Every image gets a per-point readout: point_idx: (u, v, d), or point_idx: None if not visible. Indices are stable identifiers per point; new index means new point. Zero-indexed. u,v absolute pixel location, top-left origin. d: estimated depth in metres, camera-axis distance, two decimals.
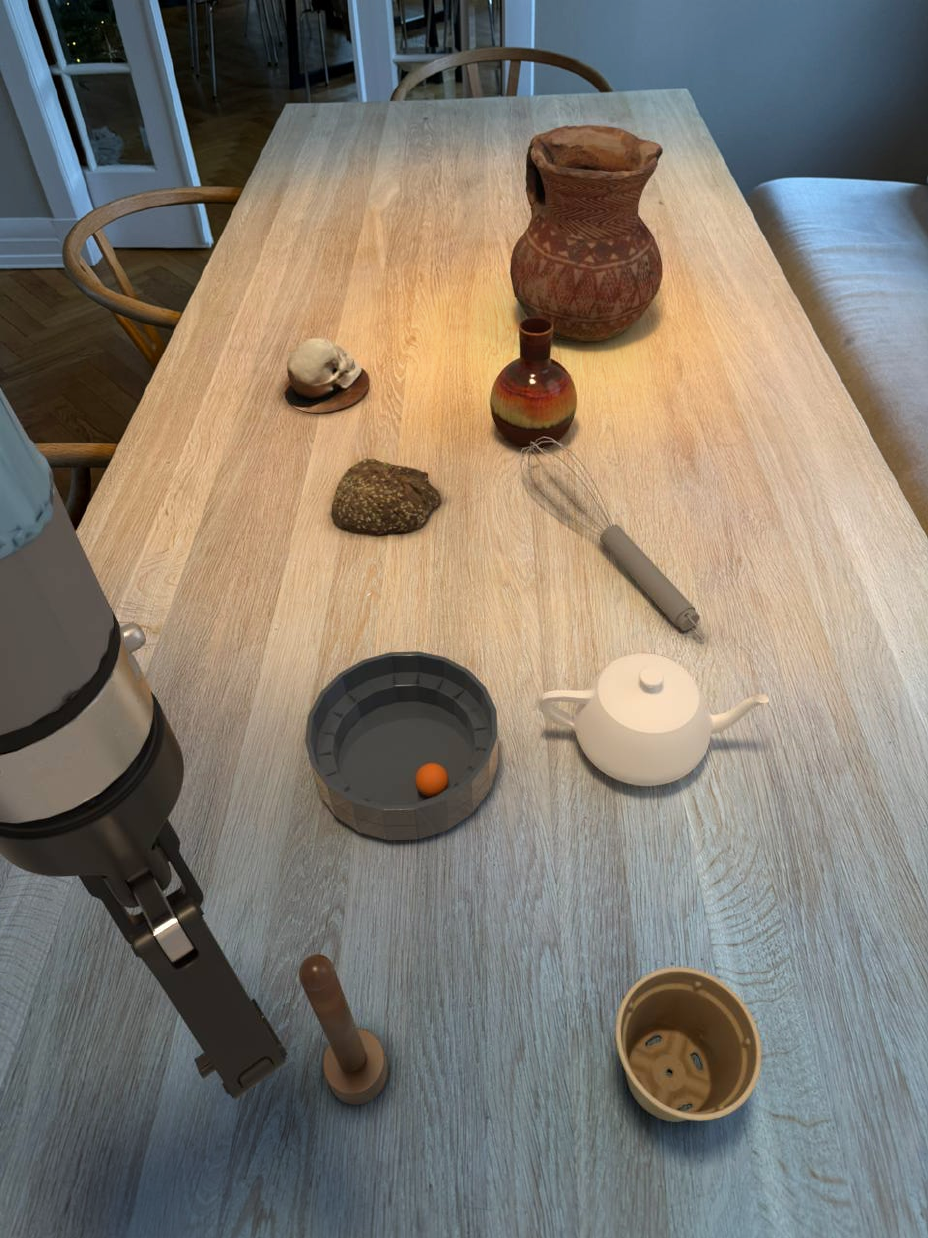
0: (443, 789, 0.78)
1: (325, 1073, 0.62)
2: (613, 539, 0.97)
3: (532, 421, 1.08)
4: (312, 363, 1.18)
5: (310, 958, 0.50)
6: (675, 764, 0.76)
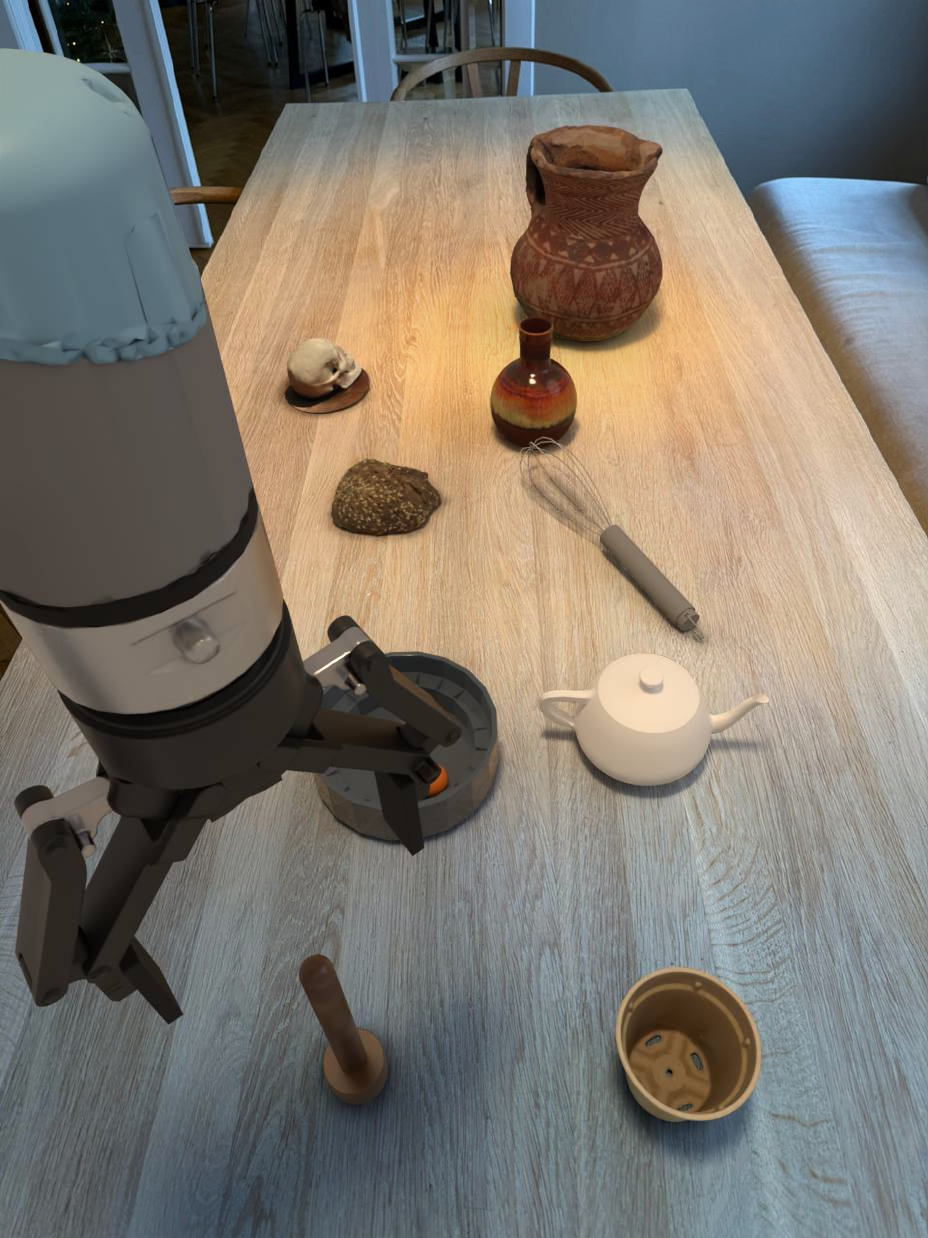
0: (443, 789, 0.78)
1: (325, 1073, 0.62)
2: (613, 539, 0.97)
3: (532, 420, 1.08)
4: (312, 363, 1.18)
5: (310, 958, 0.50)
6: (675, 764, 0.76)
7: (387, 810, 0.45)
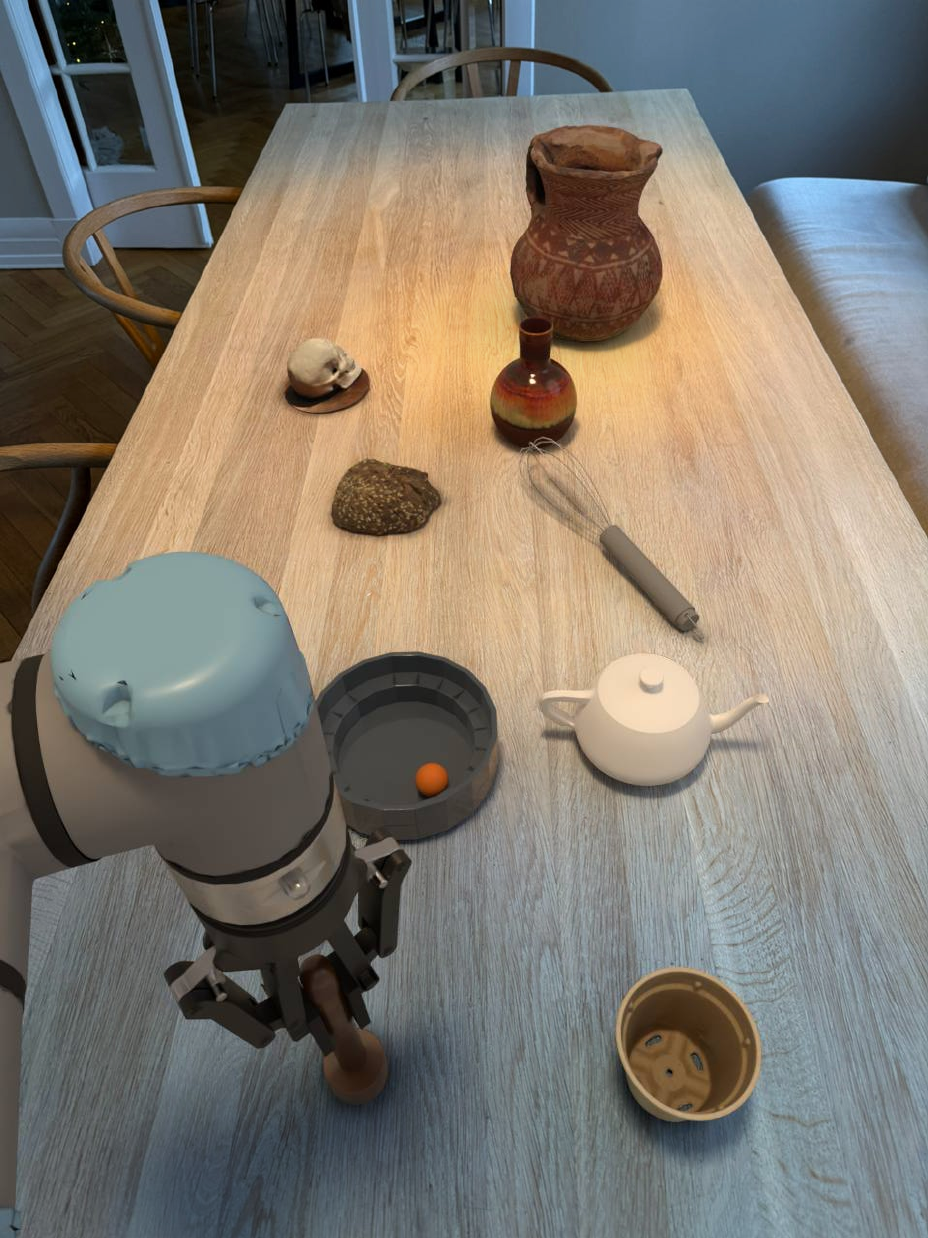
0: (443, 789, 0.78)
1: (325, 1073, 0.62)
2: (612, 539, 0.97)
3: (532, 420, 1.08)
4: (312, 363, 1.18)
5: (310, 958, 0.50)
6: (675, 765, 0.76)
7: None
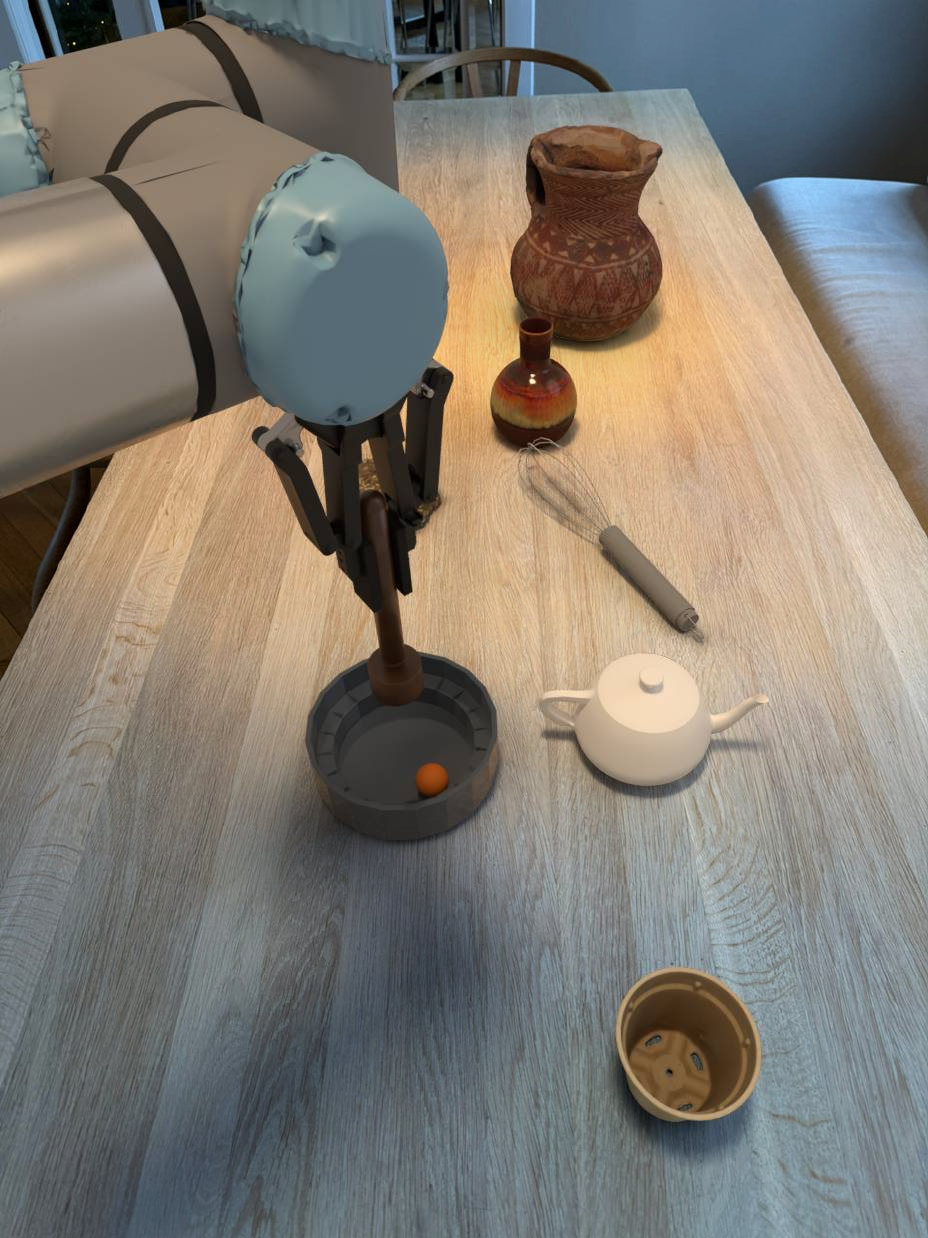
0: (443, 789, 0.78)
1: (370, 671, 0.71)
2: (612, 540, 0.97)
3: (532, 420, 1.08)
4: None
5: None
6: (675, 764, 0.76)
7: None
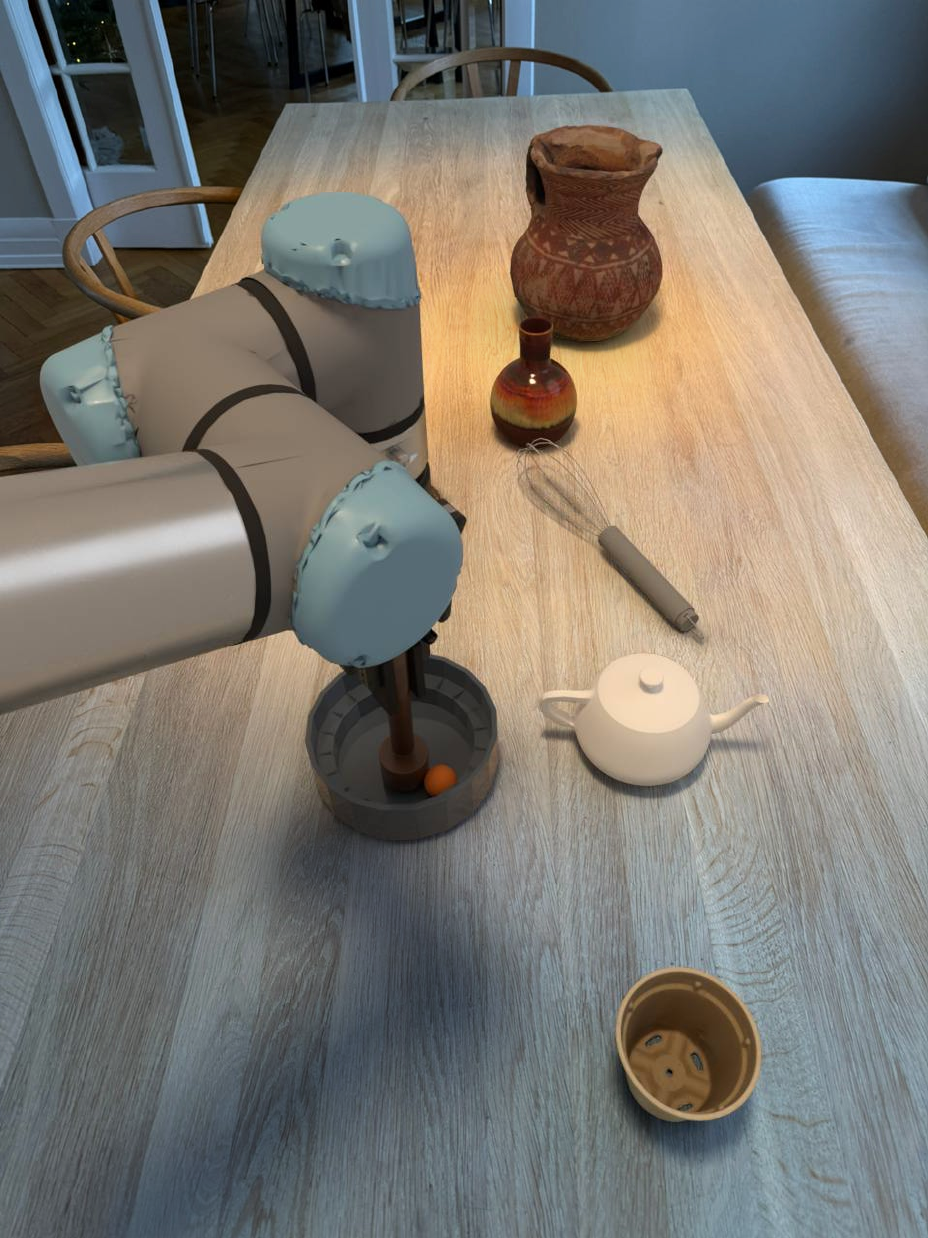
0: None
1: (381, 761, 0.77)
2: (611, 540, 0.97)
3: (532, 420, 1.08)
4: None
5: None
6: (675, 764, 0.76)
7: None
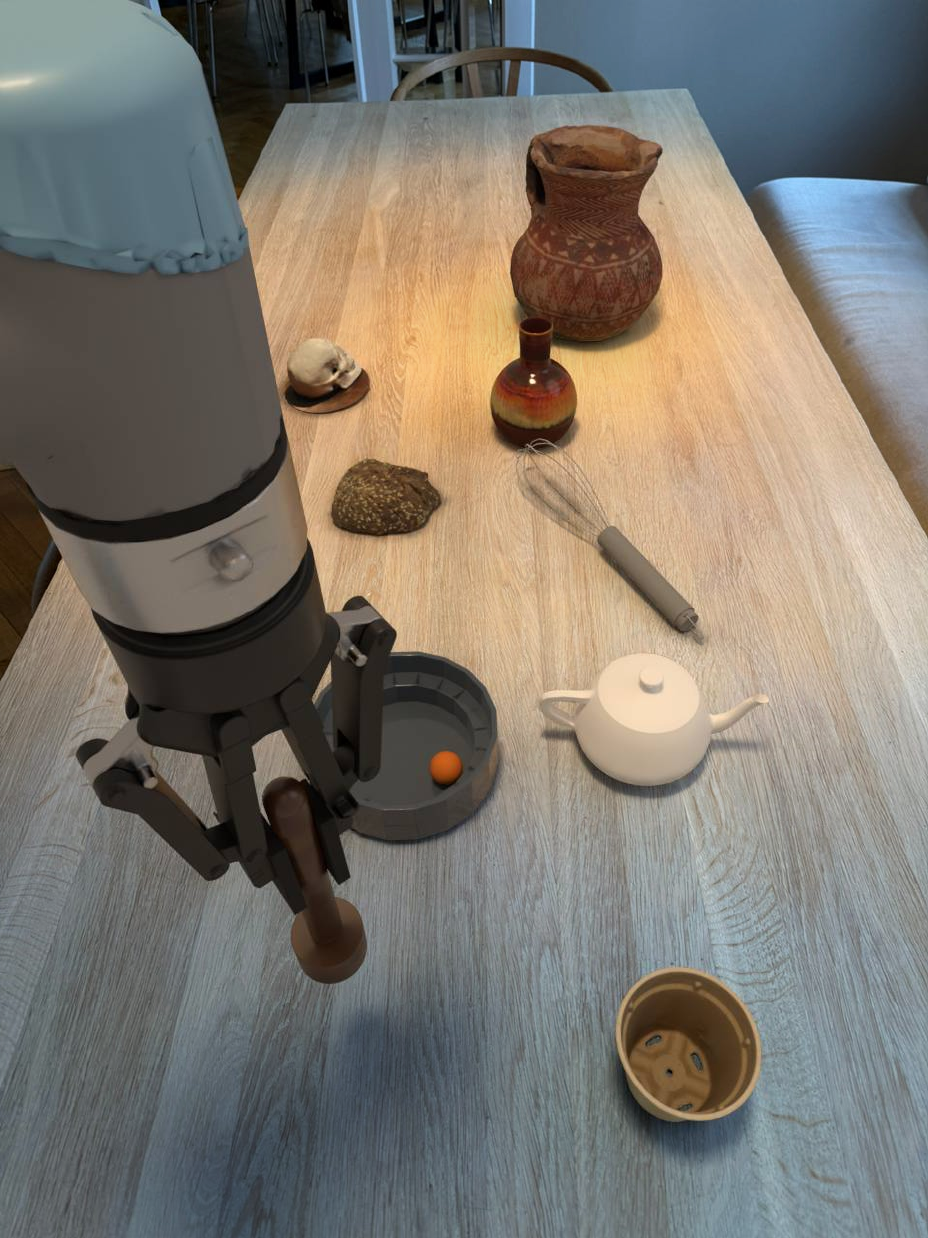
0: (443, 782, 0.79)
1: (295, 950, 0.53)
2: (610, 540, 0.97)
3: (532, 420, 1.08)
4: (312, 363, 1.18)
5: (275, 780, 0.40)
6: (675, 764, 0.76)
7: None
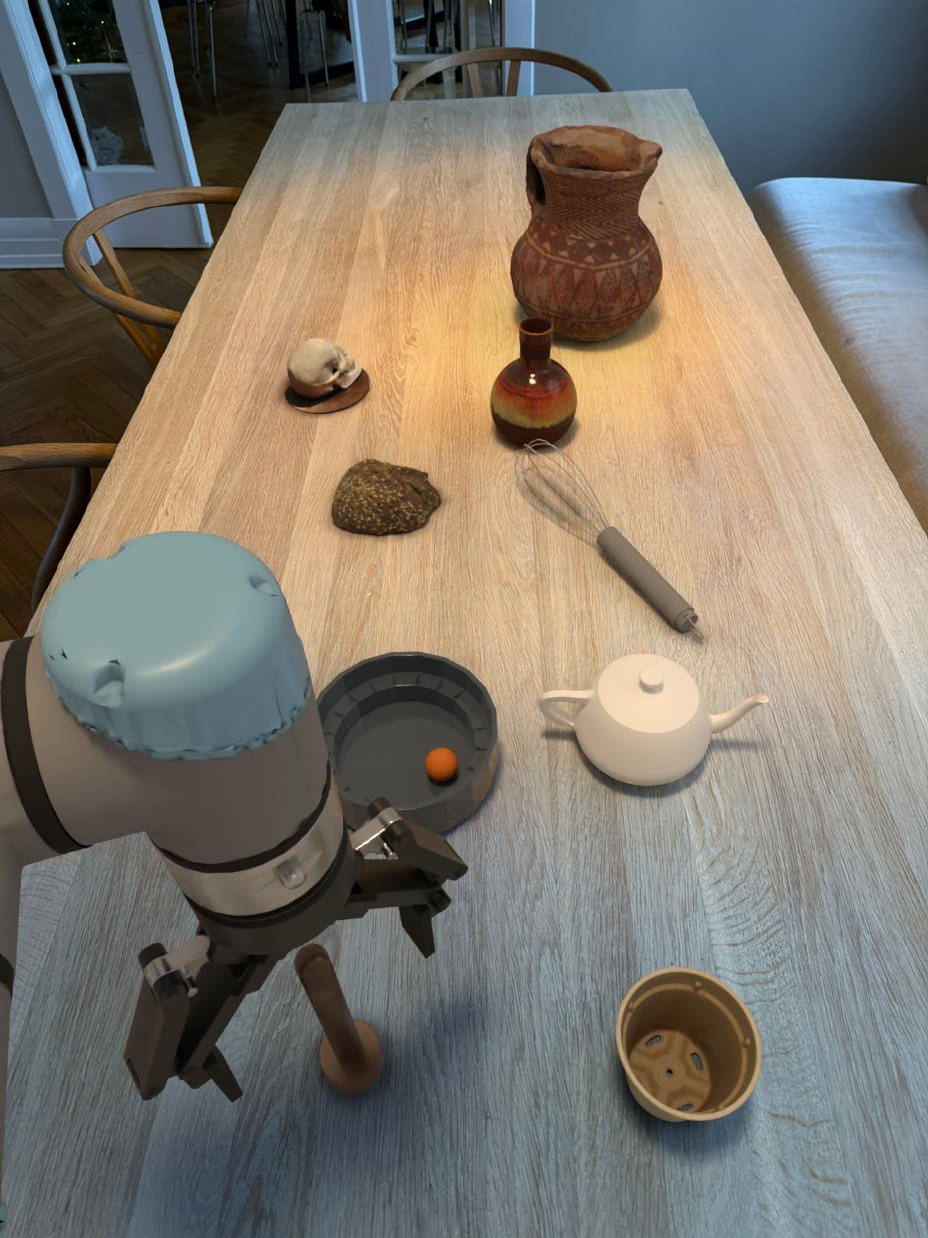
0: (438, 777, 0.79)
1: (323, 1068, 0.62)
2: (610, 541, 0.97)
3: (532, 420, 1.08)
4: (312, 363, 1.18)
5: (304, 948, 0.50)
6: (675, 764, 0.76)
7: (405, 922, 0.55)
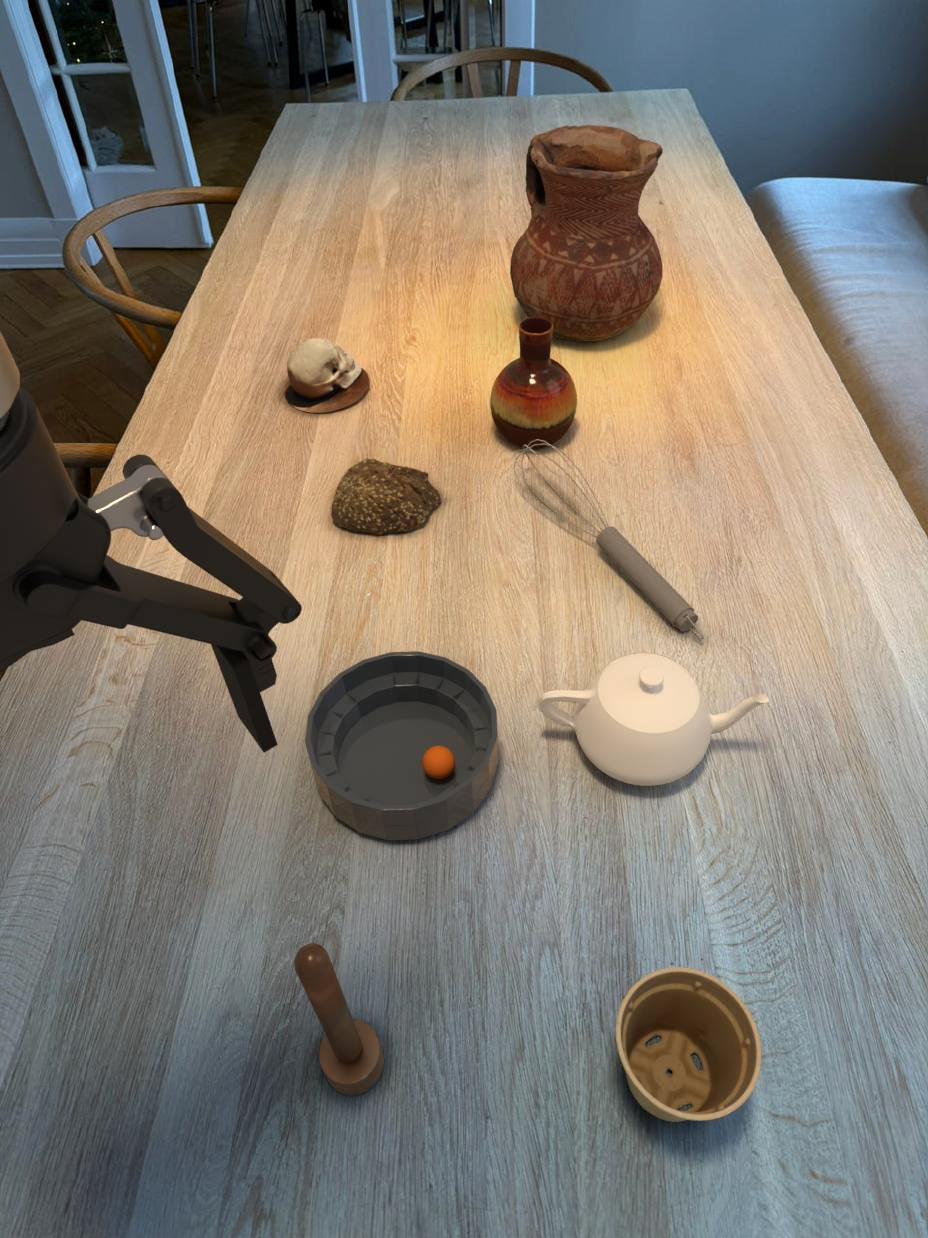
0: (435, 774, 0.79)
1: (323, 1068, 0.62)
2: (609, 541, 0.97)
3: (532, 421, 1.08)
4: (312, 363, 1.18)
5: (304, 948, 0.50)
6: (675, 764, 0.76)
7: (236, 703, 0.42)
